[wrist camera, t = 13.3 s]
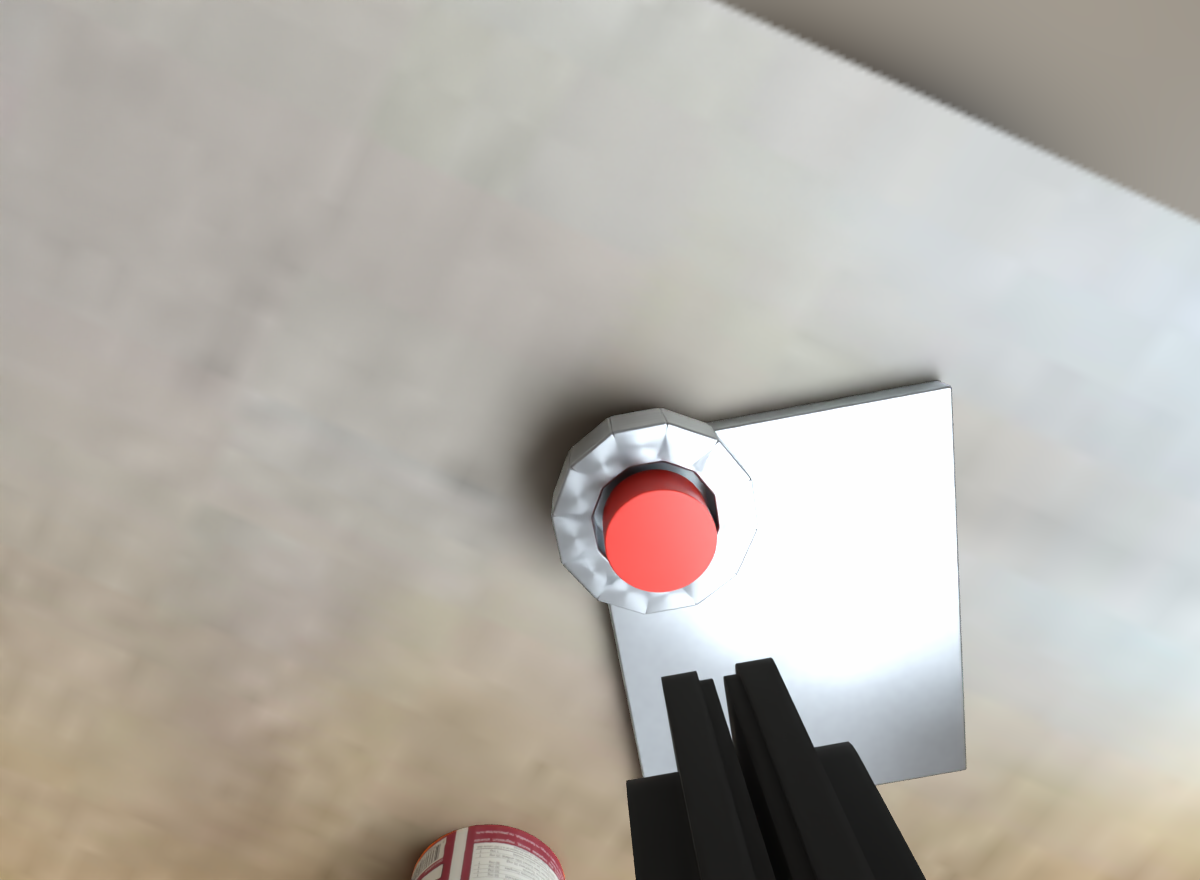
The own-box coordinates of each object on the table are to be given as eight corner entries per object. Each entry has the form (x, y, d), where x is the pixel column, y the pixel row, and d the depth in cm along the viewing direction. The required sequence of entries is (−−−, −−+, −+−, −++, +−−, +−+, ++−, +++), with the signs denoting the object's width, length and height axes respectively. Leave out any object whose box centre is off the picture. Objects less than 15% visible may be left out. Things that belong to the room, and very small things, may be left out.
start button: (593, 479, 21) (595, 500, 20) (698, 460, 21) (709, 479, 20) (612, 574, 22) (615, 602, 21) (712, 555, 22) (724, 582, 21)
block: (541, 411, 25) (535, 445, 21) (918, 341, 24) (983, 363, 20) (621, 786, 29) (628, 871, 25) (939, 731, 29) (994, 808, 25)
